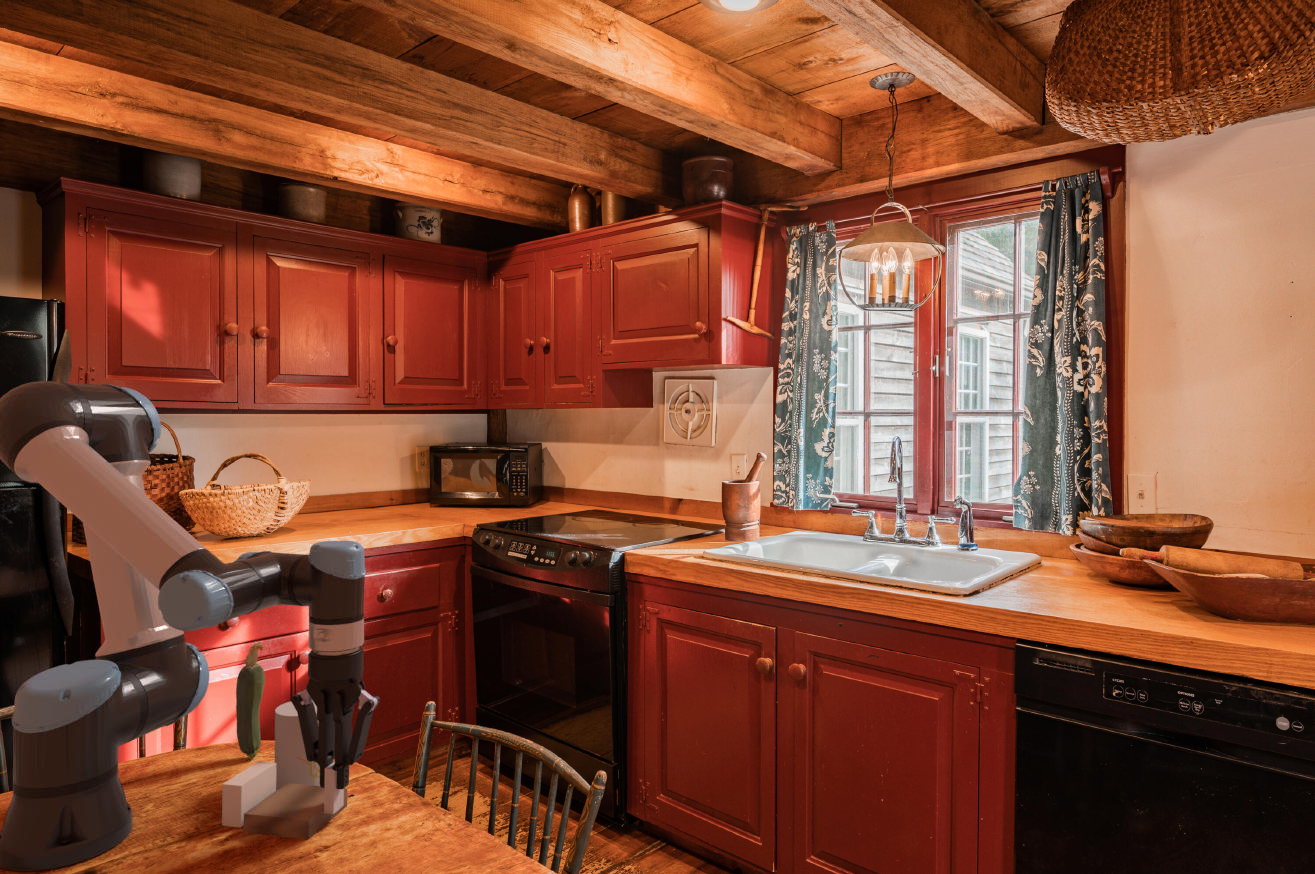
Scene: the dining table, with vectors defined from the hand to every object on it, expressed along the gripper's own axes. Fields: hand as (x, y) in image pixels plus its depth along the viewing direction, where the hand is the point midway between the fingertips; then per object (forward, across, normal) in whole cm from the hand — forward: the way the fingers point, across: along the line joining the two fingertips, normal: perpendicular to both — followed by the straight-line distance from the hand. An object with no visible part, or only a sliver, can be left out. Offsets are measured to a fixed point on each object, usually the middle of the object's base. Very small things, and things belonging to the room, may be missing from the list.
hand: (333, 808), depth 116 cm
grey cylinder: (+2, -12, +12) cm, 17 cm away
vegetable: (+2, -26, +18) cm, 32 cm away
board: (+2, -6, 0) cm, 6 cm away
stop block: (+2, -14, 0) cm, 14 cm away
